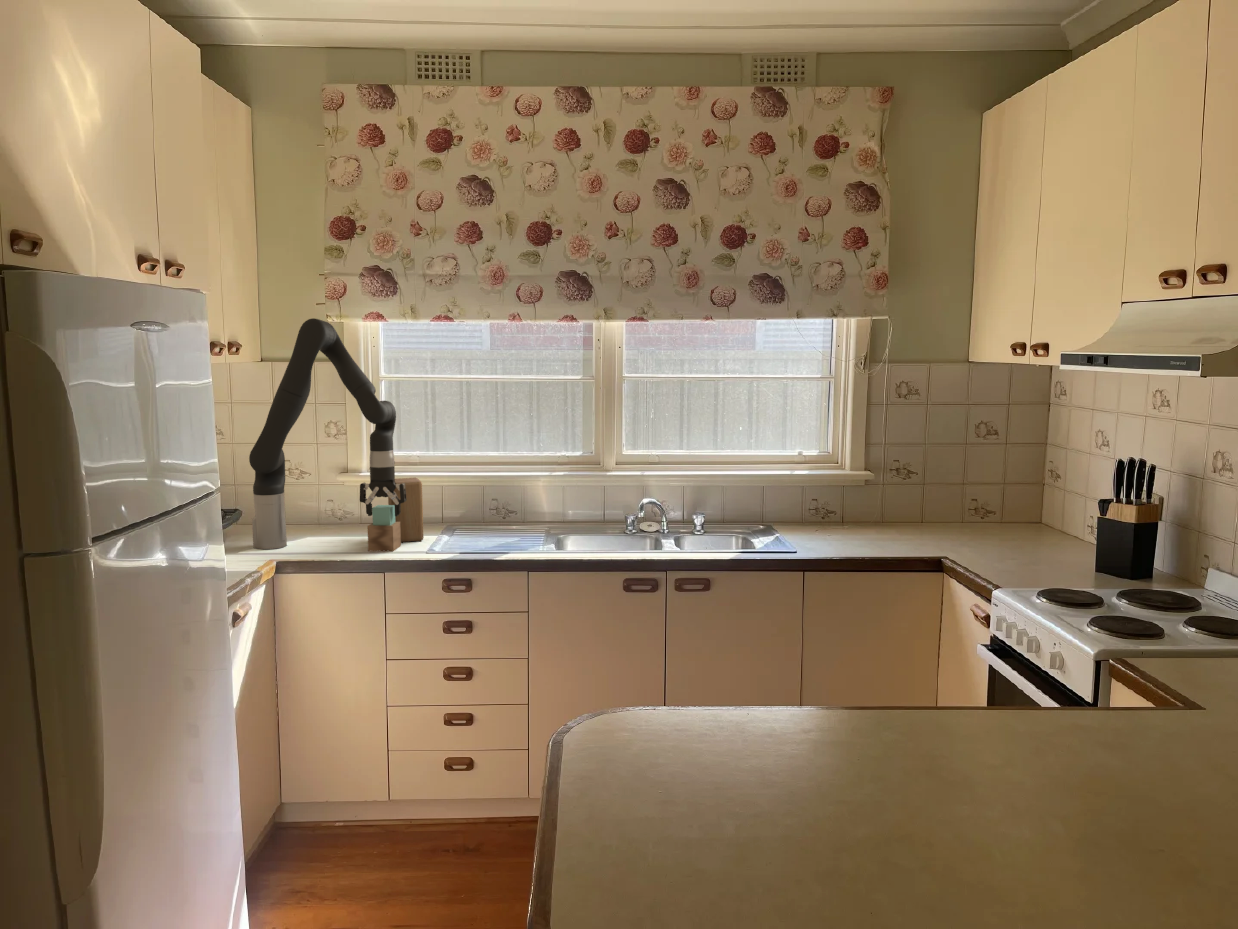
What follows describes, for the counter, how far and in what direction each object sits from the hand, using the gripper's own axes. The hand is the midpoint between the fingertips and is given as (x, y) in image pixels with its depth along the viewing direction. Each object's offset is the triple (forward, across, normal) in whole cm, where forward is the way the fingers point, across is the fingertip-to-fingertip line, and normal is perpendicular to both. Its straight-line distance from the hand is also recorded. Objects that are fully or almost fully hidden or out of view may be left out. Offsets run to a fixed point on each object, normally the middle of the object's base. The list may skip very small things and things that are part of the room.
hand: (383, 515), depth 290 cm
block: (+11, +3, +14) cm, 18 cm away
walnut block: (+11, 0, 0) cm, 11 cm away
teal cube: (+3, 0, 0) cm, 3 cm away
